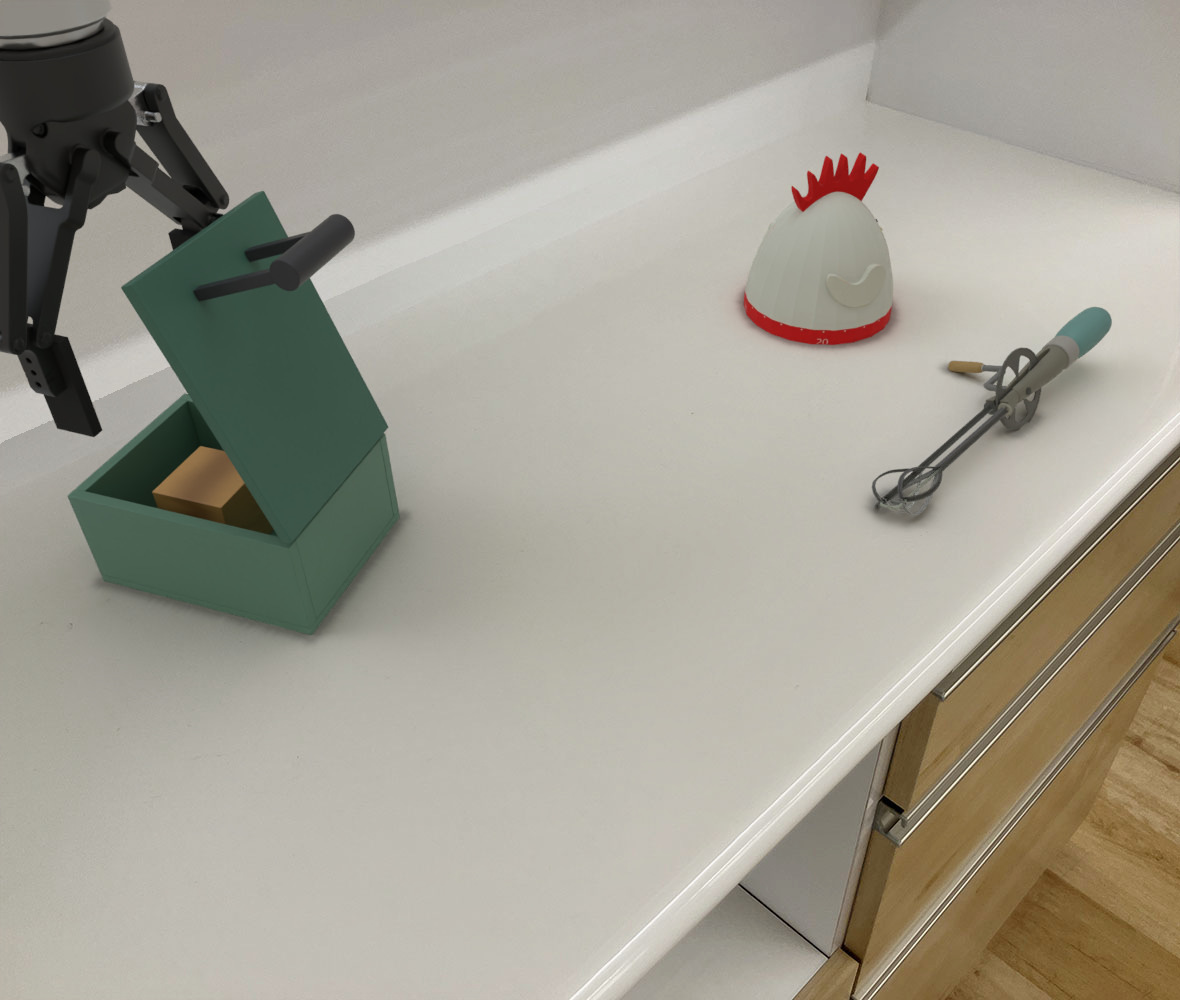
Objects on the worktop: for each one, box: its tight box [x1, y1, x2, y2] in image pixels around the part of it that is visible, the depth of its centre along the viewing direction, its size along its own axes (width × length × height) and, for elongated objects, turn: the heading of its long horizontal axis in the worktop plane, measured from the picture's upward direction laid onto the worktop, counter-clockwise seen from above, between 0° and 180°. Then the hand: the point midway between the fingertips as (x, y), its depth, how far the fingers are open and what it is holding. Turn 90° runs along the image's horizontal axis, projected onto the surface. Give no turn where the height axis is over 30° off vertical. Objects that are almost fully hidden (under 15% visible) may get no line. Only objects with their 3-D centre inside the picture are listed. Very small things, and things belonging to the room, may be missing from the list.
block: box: [152, 446, 274, 535], centre depth 74 cm, size 6×6×6 cm
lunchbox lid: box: [120, 190, 389, 543], centre depth 62 cm, size 17×13×8 cm
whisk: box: [871, 306, 1113, 516], centre depth 85 cm, size 11×32×7 cm, turn 132°
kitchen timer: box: [743, 152, 894, 346], centre depth 96 cm, size 14×14×15 cm
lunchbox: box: [67, 393, 401, 636], centre depth 73 cm, size 17×13×8 cm
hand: (150, 371), depth 68 cm, fingers open, 13 cm apart
